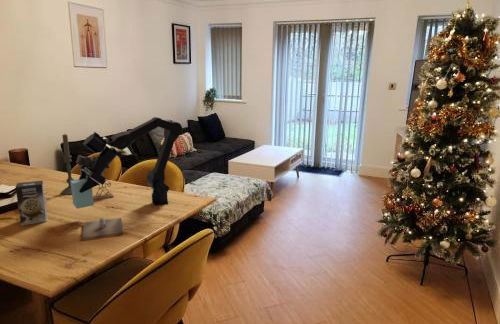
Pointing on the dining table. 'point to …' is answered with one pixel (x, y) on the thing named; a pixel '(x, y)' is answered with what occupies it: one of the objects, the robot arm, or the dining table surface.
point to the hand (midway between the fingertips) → (78, 190)
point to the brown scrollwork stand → (104, 192)
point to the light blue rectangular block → (81, 194)
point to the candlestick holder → (67, 160)
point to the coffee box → (31, 202)
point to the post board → (102, 228)
